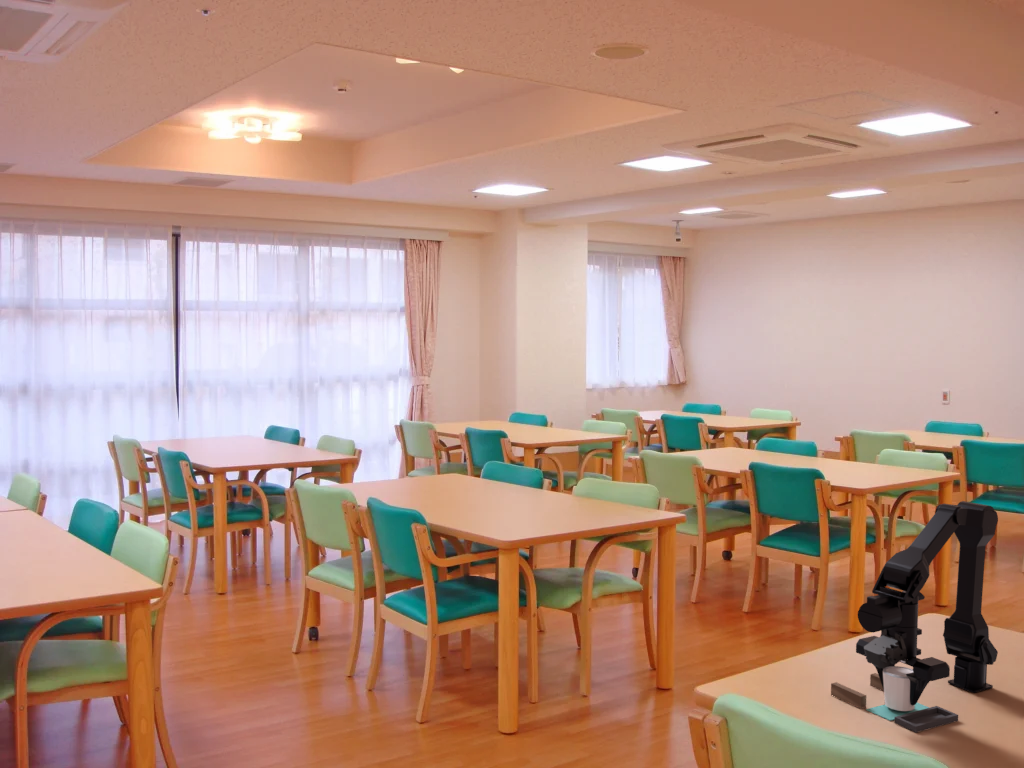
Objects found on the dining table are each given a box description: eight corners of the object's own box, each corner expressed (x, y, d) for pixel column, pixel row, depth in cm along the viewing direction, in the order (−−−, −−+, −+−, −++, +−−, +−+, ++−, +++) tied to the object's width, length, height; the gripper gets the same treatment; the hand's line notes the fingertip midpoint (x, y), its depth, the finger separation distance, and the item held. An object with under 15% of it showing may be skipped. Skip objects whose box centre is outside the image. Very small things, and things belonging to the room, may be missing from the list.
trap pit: (936, 711, 196) (936, 705, 196) (958, 720, 192) (958, 714, 192) (894, 723, 191) (894, 717, 191) (915, 732, 186) (915, 726, 186)
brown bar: (875, 684, 211) (875, 673, 210) (905, 697, 204) (905, 685, 203) (830, 695, 205) (831, 683, 204) (860, 708, 198) (861, 696, 197)
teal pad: (907, 699, 202) (907, 698, 202) (932, 709, 197) (932, 708, 197) (866, 710, 197) (866, 709, 197) (890, 721, 192) (890, 720, 192)
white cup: (921, 713, 193) (922, 679, 192) (884, 710, 194) (885, 676, 194) (914, 700, 200) (915, 666, 199) (878, 697, 201) (879, 664, 201)
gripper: (837, 616, 200) (835, 690, 201) (912, 643, 184) (910, 724, 185) (876, 608, 205) (874, 680, 207) (952, 634, 189) (950, 713, 190)
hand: (899, 699), depth 197 cm, fingers closed on white cup, 6 cm apart
